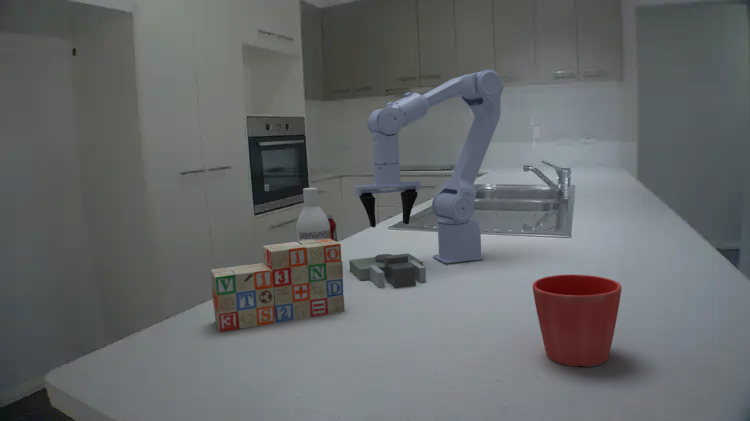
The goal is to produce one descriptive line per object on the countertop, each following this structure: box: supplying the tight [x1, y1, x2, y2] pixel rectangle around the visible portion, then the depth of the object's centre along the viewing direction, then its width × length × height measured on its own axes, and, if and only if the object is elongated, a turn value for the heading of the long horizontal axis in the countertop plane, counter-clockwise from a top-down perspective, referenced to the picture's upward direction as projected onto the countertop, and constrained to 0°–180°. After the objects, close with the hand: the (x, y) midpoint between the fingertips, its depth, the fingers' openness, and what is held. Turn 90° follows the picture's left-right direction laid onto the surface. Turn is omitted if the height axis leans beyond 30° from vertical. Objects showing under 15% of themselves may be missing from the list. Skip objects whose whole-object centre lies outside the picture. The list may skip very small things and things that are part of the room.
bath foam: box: [295, 187, 331, 242], centre depth 115 cm, size 7×7×20 cm
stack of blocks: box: [210, 239, 345, 333], centre depth 96 cm, size 21×6×12 cm, turn 112°
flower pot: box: [532, 274, 622, 367], centre depth 73 cm, size 11×11×10 cm
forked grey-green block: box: [348, 252, 427, 289], centre depth 121 cm, size 14×17×3 cm
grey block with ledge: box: [384, 253, 417, 289], centre depth 114 cm, size 4×7×5 cm, turn 14°
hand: (389, 225), depth 125 cm, fingers open, 7 cm apart
